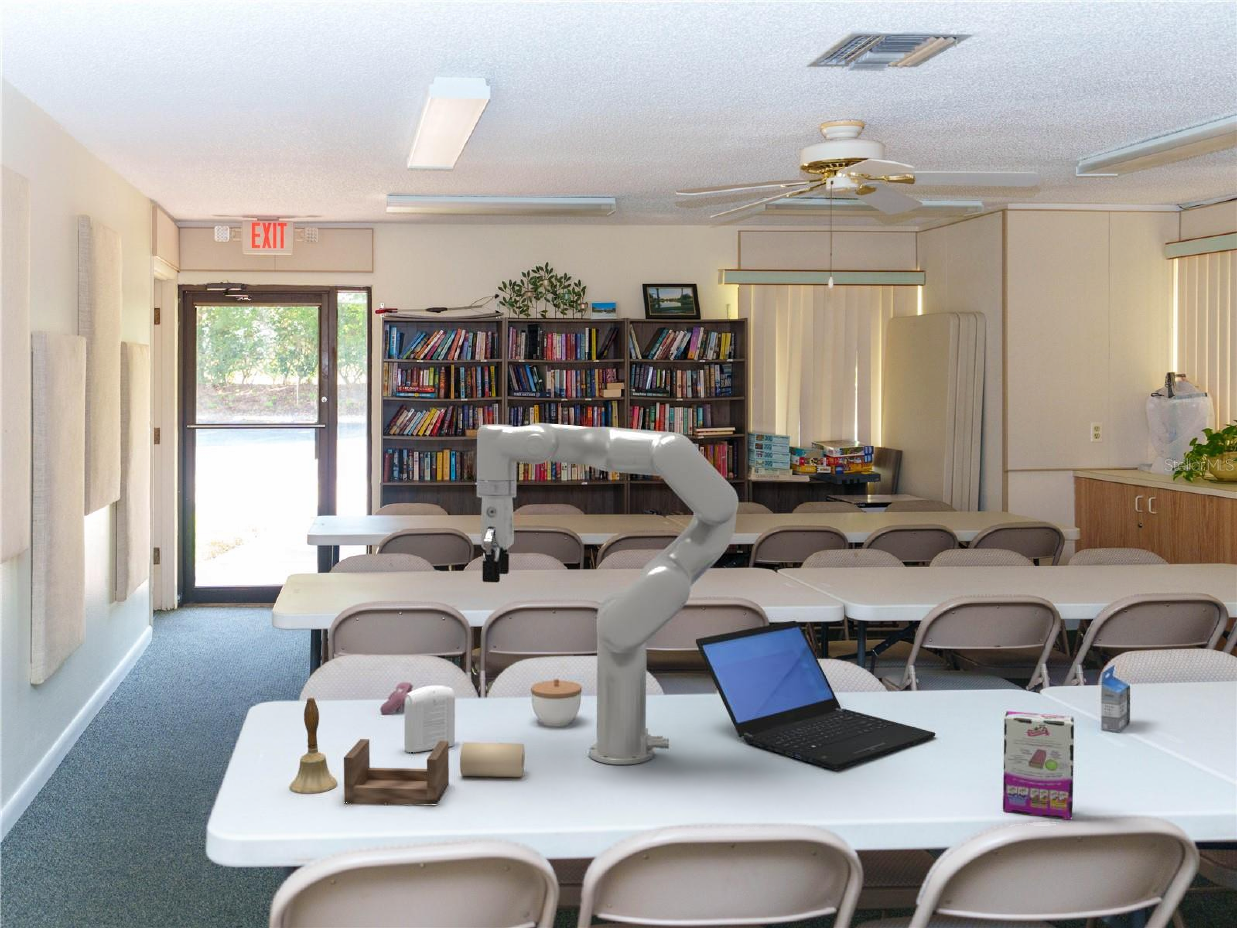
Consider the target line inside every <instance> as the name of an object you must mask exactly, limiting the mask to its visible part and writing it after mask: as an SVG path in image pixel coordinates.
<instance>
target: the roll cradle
mask: <svg viewBox="0 0 1237 928" xmlns="http://www.w3.org/2000/svg"><path fill="white" fill-rule="evenodd" d="M449 748H450V746H449V741H439V743H438V744H437V745H436V747H435V748H434V749H432V751H431V753H430V754H429V756H428V757H427V758H426V768H408V767H407V768H405V767H403V768H402V767H401V768H400V767H399V768H398V767H370V765H371V764H370V761H371V760H370V759H371V758H370V739H369V738H367V739H366V738H360V739H359V740H358V741H357V743H356V744H355V745H354V746H353V747H352V748H351V749H350V750H349V751H348V752H347V753H346V754H345V756H344V757H343V793H344V795H343V797H344V799H343V800H344V802H345V803H344V802H343V803H344V804H358V803H363V805H364V803H365V804H366V805H368V804H370V805H398V804H437V803H438V804H439V802H440V800H441V799H442V797H443V795H444V794H443V793H445V792H446V791H447V789H446V788H448V787H449V785H450V781H449V780H450V774H449V773H450V768H449V766H450V765H449V763H450V762H449V761H450V759H449V756H450V755H449V752H450V751H449ZM447 786H448V787H447ZM444 791H445V792H444ZM442 794H443V795H442ZM441 796H442V797H441ZM440 798H441V799H440ZM438 801H439V802H438ZM346 802H347V803H346ZM385 803H386V804H385ZM438 804H437V805H438Z"/></svg>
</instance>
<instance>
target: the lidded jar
mask: <svg viewBox="0 0 1237 928" xmlns="http://www.w3.org/2000/svg"><path fill="white" fill-rule="evenodd" d="M582 691H583V687H582V685H580V684H579V683H577V682H574V681H567V680H559V678H554V679H553V680H548V681H547V680H546V681H545V680H544V681H541V682H537V683H535V684H533V685H531V687H530V693H531V705H532V708H533V709H532V710H533V712H534V714H535V716H536V717H537V718H538V720H539V721H541V723H542V725H543V726H546V727H553V728H554V727H555V728H556V727H557V728H558V727H566V726H569V725H570V724H571V722H572V721H573V720H574V719H575V718H576V717H577V716H578V713H579V712H580V708H581V702H582Z"/></svg>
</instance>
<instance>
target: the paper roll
mask: <svg viewBox="0 0 1237 928" xmlns="http://www.w3.org/2000/svg"><path fill="white" fill-rule="evenodd" d="M525 753H526V751H525V744H524V743H516V742H515V743H513V742H511V743H509V742H507V743H506V742H503V743H502V742H470V741H469V742H466V741H465V742H463V743H462V744H461V749H460V754H459V755H460V756H459V771H460V775H461V776H462V777H492V778H493V777H496V778H497V777H500V778H508V777H509V778H522V777H523V776H522V775H524V772H525V771H524V769H525V758H526V755H525Z"/></svg>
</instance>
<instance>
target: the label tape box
mask: <svg viewBox="0 0 1237 928" xmlns="http://www.w3.org/2000/svg"><path fill="white" fill-rule="evenodd" d="M1115 667H1116V665H1111V666H1110V667H1109V668H1107V669H1105V670H1104V671H1103V672H1102V673H1101V680H1100V681H1101V683H1100V685H1101V686H1100V687H1101V688H1100V689H1101V694H1100V698H1101V699H1100V703H1101V704H1100V709H1101V710H1100V715H1101V716H1100V718H1101V721H1100V722H1101V723H1100V724H1101V725H1100V727H1101V731H1104V732H1109V733H1118V734H1121V733H1122V731H1124V729H1126V728H1127V726H1128V725H1129V724H1131V686H1130V684H1128V683H1126V682H1124V681H1123V680H1121V679H1119V678H1118V677H1115V676H1114V671H1115Z"/></svg>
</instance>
